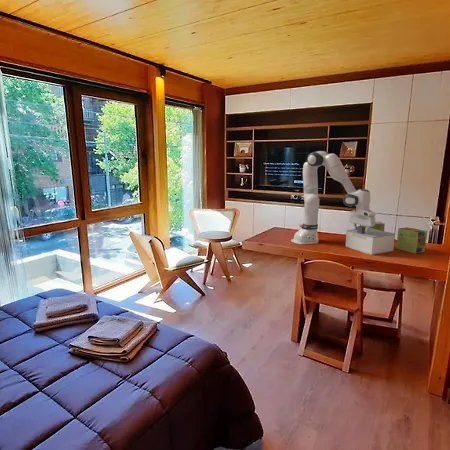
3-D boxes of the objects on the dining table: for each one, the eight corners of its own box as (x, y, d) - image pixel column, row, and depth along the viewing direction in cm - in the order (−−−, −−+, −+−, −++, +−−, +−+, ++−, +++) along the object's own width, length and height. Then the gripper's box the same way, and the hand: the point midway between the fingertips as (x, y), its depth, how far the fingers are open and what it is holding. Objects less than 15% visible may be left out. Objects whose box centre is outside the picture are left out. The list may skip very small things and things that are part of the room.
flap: (373, 238, 224) (373, 229, 222) (346, 231, 245) (347, 223, 244) (394, 234, 233) (395, 226, 232) (367, 228, 254) (368, 221, 253)
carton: (371, 254, 226) (372, 238, 223) (345, 246, 247) (346, 231, 245) (393, 250, 235) (394, 234, 233) (366, 243, 256) (367, 228, 254)
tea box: (379, 238, 271) (380, 221, 268) (383, 241, 262) (385, 223, 259) (360, 238, 273) (361, 220, 270) (364, 241, 263) (365, 223, 260)
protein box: (416, 253, 228) (418, 232, 225) (395, 248, 241) (398, 228, 238) (425, 251, 233) (427, 230, 230) (404, 246, 246) (407, 226, 243)
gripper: (348, 210, 239) (346, 228, 242) (371, 214, 221) (369, 234, 224) (354, 209, 242) (353, 227, 245) (377, 213, 224) (375, 233, 227)
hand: (361, 230), depth 234 cm, fingers open, 8 cm apart
